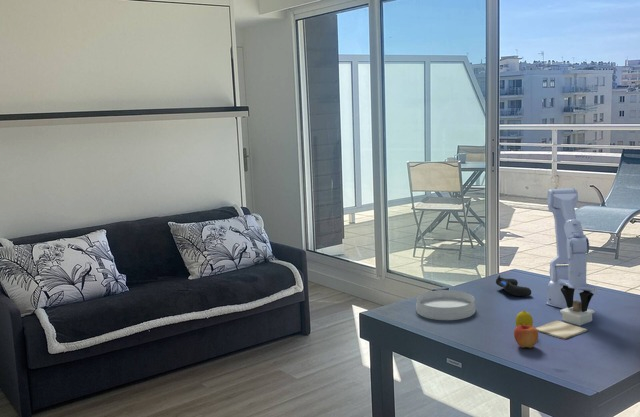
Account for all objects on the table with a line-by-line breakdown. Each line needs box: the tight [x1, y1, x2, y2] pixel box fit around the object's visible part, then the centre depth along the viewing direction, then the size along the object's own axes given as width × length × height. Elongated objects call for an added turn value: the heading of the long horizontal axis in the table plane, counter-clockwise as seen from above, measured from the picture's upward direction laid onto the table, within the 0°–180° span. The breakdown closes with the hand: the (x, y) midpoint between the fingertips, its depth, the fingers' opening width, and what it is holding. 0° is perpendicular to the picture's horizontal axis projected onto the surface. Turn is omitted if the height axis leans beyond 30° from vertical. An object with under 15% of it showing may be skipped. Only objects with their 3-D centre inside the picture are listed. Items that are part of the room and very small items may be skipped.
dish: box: [415, 289, 476, 321], centre depth 243 cm, size 22×22×5 cm
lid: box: [559, 300, 595, 318], centre depth 224 cm, size 8×8×5 cm
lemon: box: [515, 310, 534, 328], centre depth 215 cm, size 6×6×8 cm
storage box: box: [561, 313, 593, 327], centre depth 224 cm, size 7×7×3 cm
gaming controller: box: [495, 275, 532, 298], centre depth 260 cm, size 17×6×10 cm
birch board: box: [535, 320, 588, 341], centre depth 217 cm, size 12×12×1 cm
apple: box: [513, 323, 539, 349], centre depth 204 cm, size 7×7×8 cm
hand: (577, 309), depth 224 cm, fingers open, 5 cm apart
